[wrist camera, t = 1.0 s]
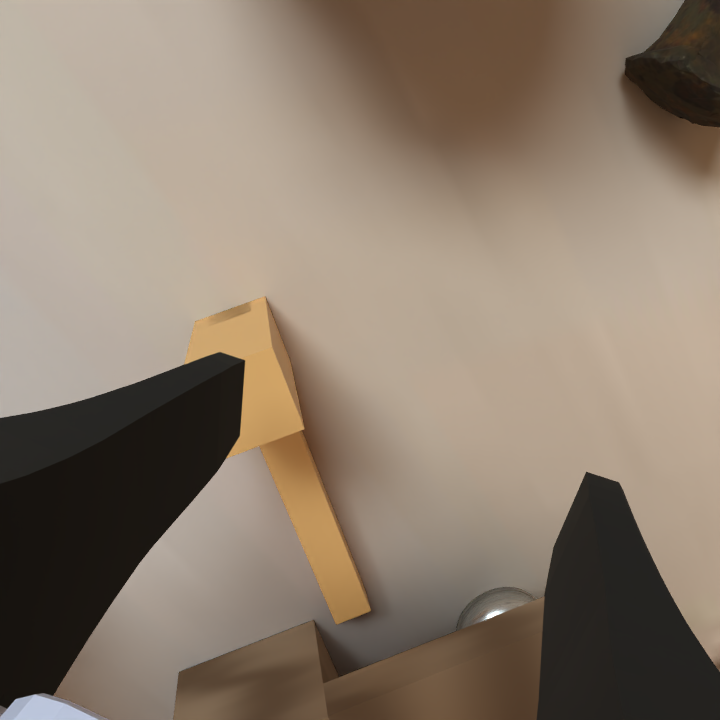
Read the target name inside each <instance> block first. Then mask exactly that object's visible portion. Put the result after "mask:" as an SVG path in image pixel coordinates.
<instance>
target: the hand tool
mask: <svg viewBox="0 0 720 720" xmlns="http://www.w3.org/2000/svg"><path fill="white" fill-rule="evenodd" d="M625 65H626V71H625V75H626V76H627V77H628V78H629V79H630V80H631V81H632V82H634V83H635V84H637V85H638V86H639V87H640V88H641V89H642V90H643V91H644V93H645V94H646V95H647V96H648V97H649V98H650V99H651V100H652V101H653V102H655V103H656V104H657V105H659V106H660V107H662V108H663V109H665V110H667V111H669V112H670V113H672V114H674V115H676V116H678V117H680V118H684V119H687V120H689V121H690V122H691V123H696V124H699V125H703V126H713V127H720V0H685V1H684V3H683V4H682V6H681V8H680V9H679V11H678V13H677V14H676V16H675V17H674V19H673V20H672V21H671V23H670V24H669V25H668V27H667V28H666V30H665V31H664V32H663V34H662V35H661V36H660V38H659V39H658V40H657V41H656V42H655V43H654V44H653V45H651V46H650V47H649V48H648V49H647V50H646V51H644V52H643V53H641V54H637V55H634V56H631V57H628V58H626V62H625Z"/></svg>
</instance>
